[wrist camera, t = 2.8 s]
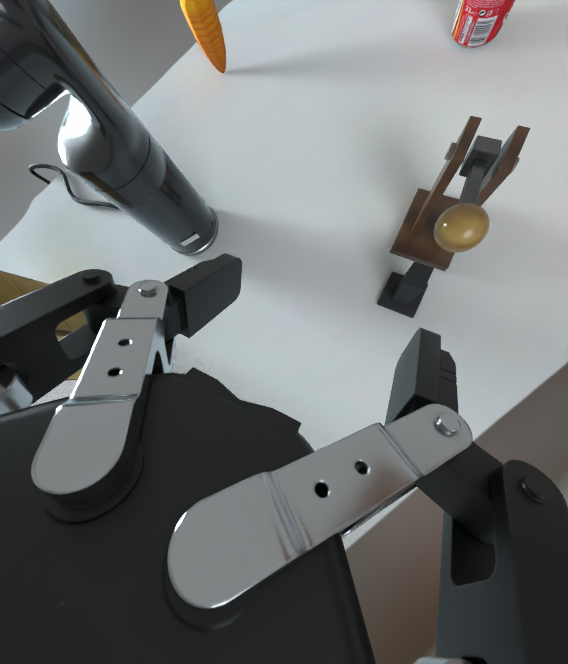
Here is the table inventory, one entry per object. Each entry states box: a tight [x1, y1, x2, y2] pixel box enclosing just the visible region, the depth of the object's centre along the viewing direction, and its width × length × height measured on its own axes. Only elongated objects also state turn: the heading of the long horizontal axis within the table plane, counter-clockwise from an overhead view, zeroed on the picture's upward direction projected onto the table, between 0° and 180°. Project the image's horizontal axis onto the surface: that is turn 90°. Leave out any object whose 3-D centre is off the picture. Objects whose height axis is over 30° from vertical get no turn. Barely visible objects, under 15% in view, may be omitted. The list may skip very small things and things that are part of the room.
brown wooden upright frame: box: [390, 116, 530, 271], centre depth 32 cm, size 10×8×16 cm
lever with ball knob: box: [434, 136, 502, 252], centre depth 23 cm, size 14×4×4 cm, turn 155°
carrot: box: [180, 0, 226, 73], centre depth 43 cm, size 5×5×15 cm
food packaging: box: [0, 271, 87, 380], centre depth 35 cm, size 13×9×25 cm
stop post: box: [378, 262, 434, 318], centre depth 35 cm, size 5×5×8 cm
